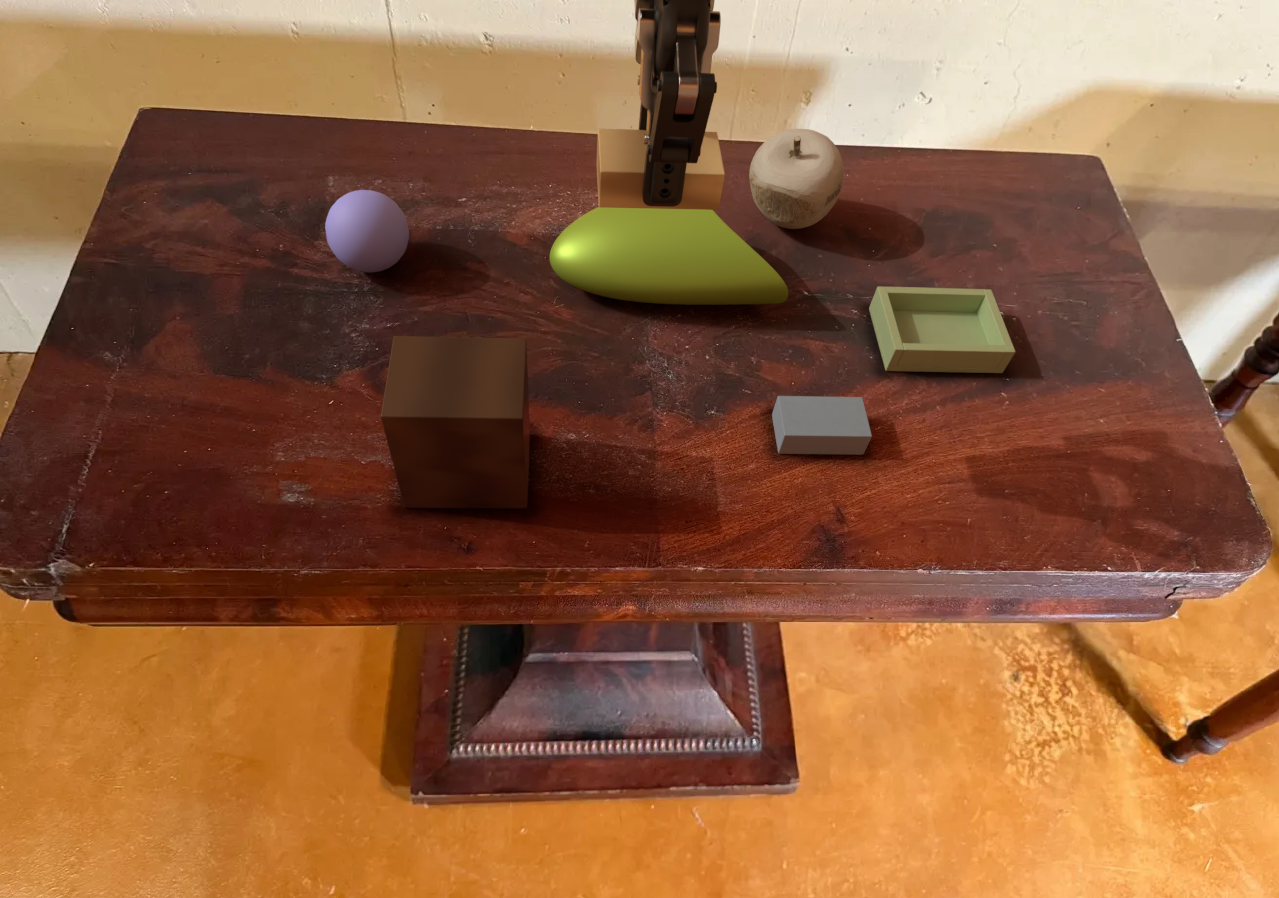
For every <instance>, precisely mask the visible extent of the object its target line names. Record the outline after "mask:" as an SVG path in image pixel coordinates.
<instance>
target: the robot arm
mask: <svg viewBox="0 0 1279 898" xmlns="http://www.w3.org/2000/svg"><path fill="white" fill-rule="evenodd" d="M633 1H634V18H635V21H636V24H635V25H636V26H635V35H634V56H635V62H636V63H637V64H638V65H640V68H639V69H640V70H639V74H638V75H637V86H638V87H639V88H638V95H639V100H640V106H639V107H640V109H639V119H638V130H646V134H644V145H646V156H645V167H644V179H643V190H642V195H643V202H644V203H645V204H646V205H648V206H666V207H674V206H677V205H679V204H680V203H681V200H682V194H683V187H684V180H685V172H686V165H687V163H697V162H698V158H699V156H700V153H701V146H702V142H703V138H704V134H705V132H706V130H707V126H708V122H709V117H710V114H711V110H712V106H713V103H714V98H715V94H717V90H718V82H717V81H716V75H715V73H714V72H712V63H713V55H714V53H715V52H716V51H717V50H718V47H719V45H720V33H721V21H722V17H721V12H720V11H719V10H718V11H717V10H714V8H715V0H633Z"/></svg>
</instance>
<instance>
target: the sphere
mask: <svg viewBox="0 0 1279 898" xmlns="http://www.w3.org/2000/svg"><path fill="white" fill-rule="evenodd" d="M324 225H325V226H324V228H325V236H326V237H325V238H326V242H327V244H328V247H329V249H330V250H331V252H332V253H333V254H334V256H335V257H336V258H337V260H338V261H339V262H341V264H344V265H345V266H347V267H349V269H352V270H355V271H358V272H361V273H378V272H382V271H385V270H387V269H390V268H391V267H392V266H394V265H396V264H397V263H399V261H400V260H401V258H402V257H403V256H404V254H405V253H406V252H407V251H406V250H407V248H408V245H409V240H410V229H409V225H408V221H407V217H406V215H405V213H404V212H403V210H402V209H401V208H400V206H399V205H398V204H397V203H396V201H394V199H392V198H391V197H389V196H387V195H385V194H383V193H381V192H379V191H375V190H371V189H358V190H353V191H350V192H348V193H347V192H346V193H345V194H343V195H342V196H340V197H339V198H338V199H337V200H336V201H335V202H334V203H333V205H331V207H330V209H329V211H328V213H327V216H326V220H325V223H324Z"/></svg>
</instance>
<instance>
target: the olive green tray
mask: <svg viewBox="0 0 1279 898" xmlns="http://www.w3.org/2000/svg"><path fill="white" fill-rule="evenodd" d="M868 311H869V314H870V318H871V322H872V326H873V329H874V333H875V337H876V341H877V344H878V348H879V351H880V355H881V359H882V363H883V366H884V370H885V372H915V373H916V372H917V373H918V372H919V373H920V372H922V373H923V372H924V373H968V374H969V373H971V374H973V373H975V374H978V373H979V374H1003V373H1004V371H1005V370H1006V368H1007V367H1008V365H1009V363H1010V361H1011V360H1012V359H1013V357H1014V356H1015V354H1016V349H1015V347H1014V344H1013V341H1012V339H1011V336H1010V334H1009V332H1008V329H1007V326H1006V323H1005V321H1004V318H1003V316H1002V314H1001V311H1000V308H999V306H998V303H997V301H996V298H995V295H994V292H993V290H992V289H991V288H990V289H988V288H955V287H954V288H951V287H950V288H949V287H919V286H918V287H917V286H916V287H915V286H879V285H878V286H877V287H876V289H875V291H874V295H873V297H872V300H871V302H870V305H869V307H868Z"/></svg>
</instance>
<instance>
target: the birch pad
mask: <svg viewBox="0 0 1279 898" xmlns="http://www.w3.org/2000/svg"><path fill="white" fill-rule="evenodd" d="M644 134H646V130H639V129H631V128H630V129H626V128H624V129H623V128H598V129H597V138H596V139H597V140H596V141H597V142H596V164H595V165H596V183H597V199H598V201H597V202H598V207H606V208H656V209H705V210H713V211H718V210H720V204H721V199H722V193H723V188H724V182H725V177H726V173H725V167H724V162H723V156H722V152H721V146H720V139H719V136H718V135H719V134H718V132H717V131H705V134H704V138H703V142H702V146H701V153H700V156H699V158H698V162H697V163H687V165H686V172H685V180H684V187H683V194H682V200H681V203H680V204H679V205H677V206H674V207H666V206H648V205H646V204H645V203H644V202H643V195H642V190H643V179H644V167H645V156H646V145H644Z"/></svg>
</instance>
